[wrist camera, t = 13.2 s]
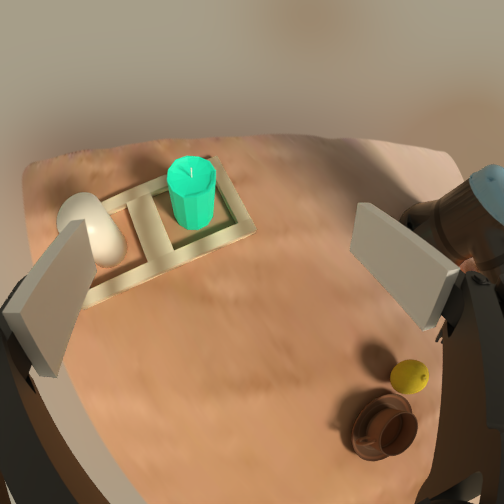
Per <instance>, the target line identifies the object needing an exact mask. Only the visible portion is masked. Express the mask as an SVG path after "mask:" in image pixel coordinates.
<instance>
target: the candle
mask: <svg viewBox="0 0 504 504" xmlns="http://www.w3.org/2000/svg"><path fill="white" fill-rule="evenodd" d="M167 184H168V189H169V194H170V198H171V203H172V207H173V212H174V216H175V218H176V220H177V222H178V224H179V225H181V226H182V227H184V228H186V229H187V230H199V229H201V228H203V227H205V226H207V225H208V224H209V222H210V221H211V219H212V218H213V209H214V196H215V185H216V170H215V168H214V167H213V165H212V164H211V162H210V161H208V160H206V159H203V158H201V157H196V156H185V157H182V158H179V159H176V160H175V161H174V162H173V164H172V165H171V166H170V168H169V169H168V174H167Z"/></svg>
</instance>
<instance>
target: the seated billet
mask: <svg viewBox="0 0 504 504" xmlns="http://www.w3.org/2000/svg"><path fill="white" fill-rule="evenodd" d="M80 219H85V222H86V227H87V232H88V236H89V241H90V245H91V249H92V253H93V257H94V261H95V263H96V264H97V265H99V266H100V267H103V268H112V267H115V266H117V265H118V264H120V263H121V262H122V260H123V259H124V258H125V256H126V253H127V241H126V238H125V237H124V235H123V234H122V232H121V231H120V230H119V228H118V227H117V225H116V224H115V223H114V221H113V220H112V218H111V217H110V215H109V214H108V213H107V211H106V210H105V208H104V207H103V205H102V204H101V202H100V201H99V199H98V198H97V197H96V196H95V195H93V194H91V193H88V192H81V193H77V194H75V195H73V196H71V197H70V198H68V199H67V200H66V201H65V202H64V203H63V205H62V206H61V208H60V210H59V212H58V215H57V229H58V232H59V233H61V231H62V230H63V229H64V228H65V227H66V226H67V224H68V223H69V222H70V221H72V220H80Z"/></svg>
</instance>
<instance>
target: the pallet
mask: <svg viewBox="0 0 504 504" xmlns="http://www.w3.org/2000/svg"><path fill="white" fill-rule="evenodd" d="M206 160H208V161H210V162H211V164H212V165H213V167H214V168H215V170H216V186H217V188H218V190H219V192H220V194H221V196H222V198H223V200H224V202H225V204H226V206H227V207H228V209H229V211H230V213H231V215H232V217H233V219H234V221H235V223H236V224H235V225H232V226H230V227H228V228H225V229H223V230H221V231H218V232H216V233H213V234H211V235H209V236H206V237H204V238H202V239H199V240H197V241H195V242H193V243H190V244H188V245H186V246H183V247H181V248H179V249H177V250H174V249H173V247H172V245H171V242H170V240H169V238H168V235H167V233H166V230H165V228H164V226H163V223H162V221H161V218H160V216H159V213H158V211H157V208H156V206H155V203H154V201H153V198H152V197H153V196H156V195H158V194H160V193H163V192H165V191H168V190H169V189H168V184H167V174H166V175H163V176H160V177H158V178H156V179H153V180H151V181H148V182H146V183H143V184H141V185H139V186H136V187H134V188H132V189H129V190H127V191H125V192H123V193H120V194H118V195H116V196H114V197H111V198H109V199H107V200H105V201H103V202H101V204H102V205H103V207H104V208H105V210H106V211H107V213H108V214H109V215H112V214H114V213H117V212H119V211H121V210H123V209H125V208H128V210H129V213H130V215H131V218H132V221H133V224H134V227H135V229H136V232H137V235H138V238H139V240H140V243H141V245H142V248H143V251H144V253H145V256H146V258H147V261H148V262H147V263H145V264H143V265H141V266H139V267H136V268H134V269H132V270H130V271H128V272H125V273H123V274H121V275H119V276H117V277H115V278H112V279H110V280H108V281H106V282H104V283H102V284H100V285H98V286H95V287H93V288H91V289H89V290H88V293H87V295H86V298H85V300H84V302H83V305H82V307H81V309H82V310H86V309H88V308H90V307H92V306H94V305H96V304H98V303H101V302H103V301H105V300H107V299H109V298H111V297H114V296H116V295H118V294H120V293H122V292H124V291H127V290H129V289H131V288H133V287H135V286H138V285H140V284H142V283H144V282H146V281H149V280H151V279H153V278H155V277H157V276H160V275H162V274H164V273H166V272H169V271H171V270H173V269H175V268H177V267H180V266H182V265H184V264H186V263H189V262H191V261H193V260H195V259H198V258H200V257H202V256H204V255H207V254H209V253H211V252H213V251H216V250H218V249H220V248H223V247H225V246H227V245H229V244H232V243H234V242H236V241H239V240H241V239H243V238H245V237H248V236H250V235H252V234H255V233H256V231H257V228H256V226H255V225H254V223H253V221H252V219H251V217H250V215H249V213H248V212H247V210H246V208H245V206H244V204H243V202H242V200H241V199H240V197H239V195H238V193H237V191H236V189H235V188H234V186H233V184H232V182H231V180H230V178H229V177H228V175H227V173H226V171H225V169H224V167H223V166H222V164H221V162H220V160H219V158H218V156H215V157H212V158H209V159H206ZM59 234H60V233H59Z"/></svg>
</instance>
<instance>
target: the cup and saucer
mask: <svg viewBox="0 0 504 504" xmlns="http://www.w3.org/2000/svg"><path fill="white" fill-rule="evenodd" d="M417 429H418V423H417V419H416V417H415V416H414V415H413V414H412V409H411V406H410V404H409V402H408V401H407V400H406V399H405V398H404V397H402V396H400V395H398V394H386V395H383V396H380V397H378V398H376V399H374V400H373V401H371V402H370V403H369V404H368V405H367V406H366V407H365V408H364V409H363V410H362V411H361V413H360V414H359V416H358V417H357V419H356V421H355V424H354V426H353V430H352V437H351V439H352V446H353V449H354V451H355V452H356V454H357V455H358V456H359V457H360V458H362V459H364V460H367V461H378V460H382V459H384V458H387V457H388V456H396V455H398V454H401V453H402V452H404V451H405V450H406V449H407V448H408V447H409V446H410V445H411V444H412V442H413V440H414V439H415V436H416V434H417Z"/></svg>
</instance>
